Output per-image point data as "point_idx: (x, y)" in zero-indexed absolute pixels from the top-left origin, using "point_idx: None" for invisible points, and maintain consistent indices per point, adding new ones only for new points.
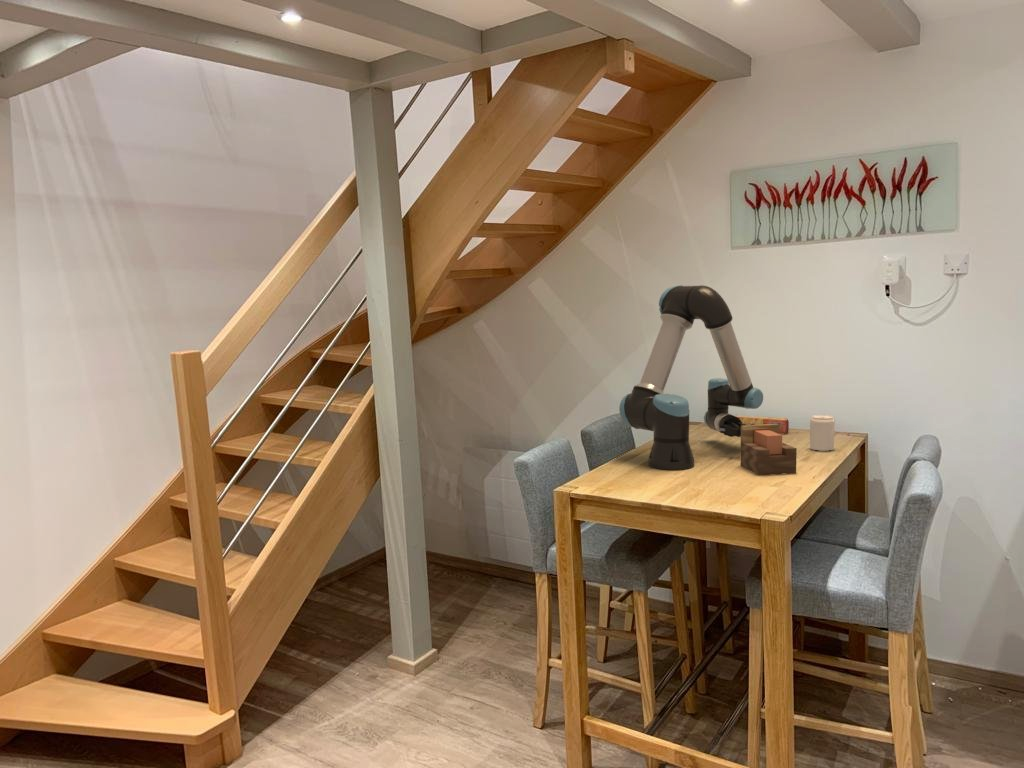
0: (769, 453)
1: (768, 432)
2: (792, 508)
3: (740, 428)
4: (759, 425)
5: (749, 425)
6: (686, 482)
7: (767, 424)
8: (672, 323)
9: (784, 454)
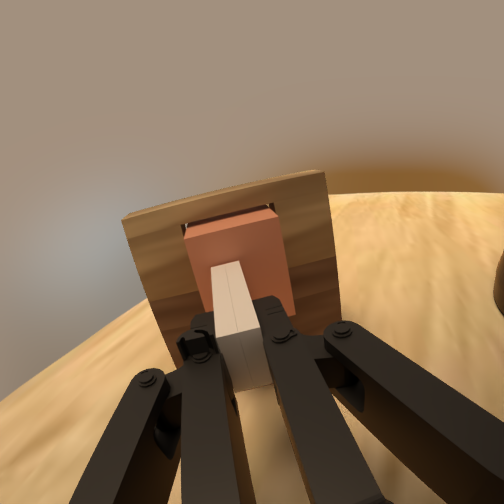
0: None
1: None
2: None
3: (316, 385)
4: (227, 188)
5: (278, 179)
6: (444, 229)
7: (175, 203)
8: None
9: None
